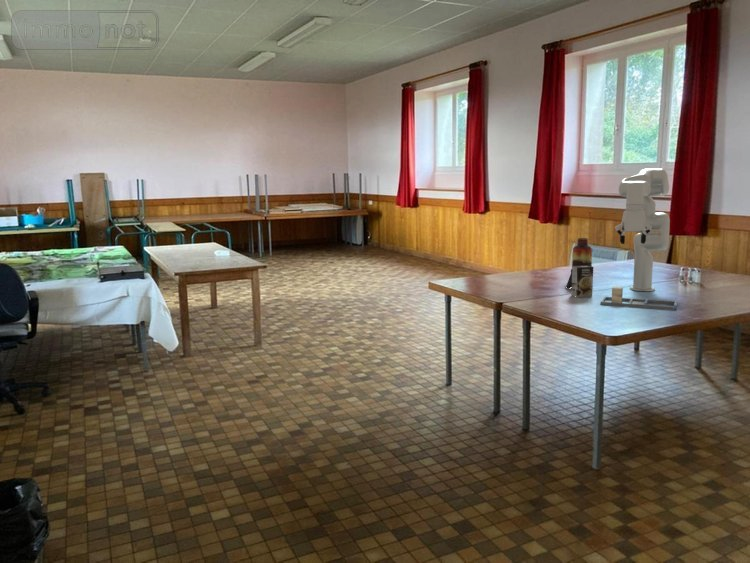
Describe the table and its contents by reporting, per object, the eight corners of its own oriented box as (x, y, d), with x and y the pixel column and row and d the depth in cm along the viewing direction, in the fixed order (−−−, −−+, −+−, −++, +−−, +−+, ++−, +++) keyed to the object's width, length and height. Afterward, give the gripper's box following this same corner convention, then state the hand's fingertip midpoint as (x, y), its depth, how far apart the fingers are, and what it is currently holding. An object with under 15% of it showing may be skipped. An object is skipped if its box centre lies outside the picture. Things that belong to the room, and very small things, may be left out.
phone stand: (565, 288, 348) (566, 267, 346) (570, 287, 352) (571, 266, 350) (580, 290, 342) (580, 269, 340) (585, 288, 346) (586, 267, 344)
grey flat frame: (604, 299, 316) (604, 294, 316) (676, 304, 300) (677, 299, 300) (600, 304, 304) (600, 299, 304) (675, 310, 288) (675, 305, 288)
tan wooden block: (612, 302, 310) (613, 286, 309) (622, 302, 308) (622, 287, 306) (611, 303, 306) (612, 288, 305) (621, 304, 304) (621, 288, 303)
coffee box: (577, 297, 322) (578, 267, 320) (570, 295, 329) (571, 265, 326) (592, 296, 324) (593, 266, 321) (586, 294, 330) (587, 264, 327)
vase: (591, 283, 361) (592, 239, 357) (571, 282, 365) (572, 239, 360) (590, 280, 372) (592, 237, 367) (571, 279, 375) (572, 237, 370)
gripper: (649, 207, 297) (647, 242, 300) (613, 208, 298) (611, 243, 300) (655, 208, 290) (654, 244, 293) (619, 208, 290) (617, 244, 293)
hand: (632, 243), depth 296 cm, fingers open, 9 cm apart
